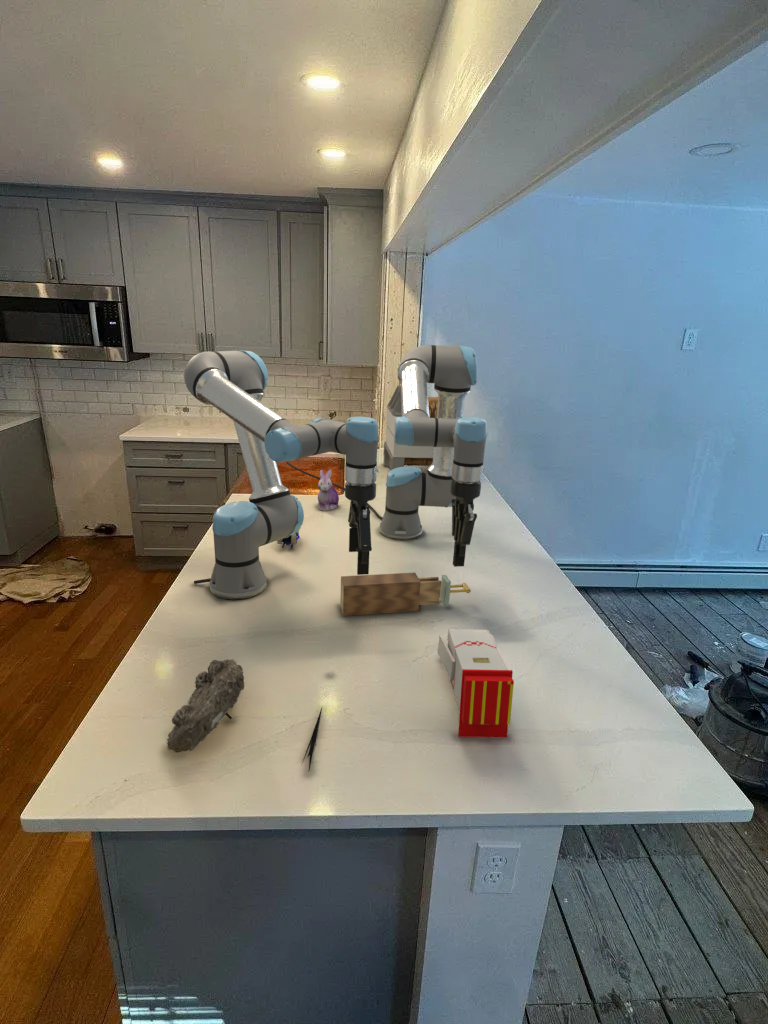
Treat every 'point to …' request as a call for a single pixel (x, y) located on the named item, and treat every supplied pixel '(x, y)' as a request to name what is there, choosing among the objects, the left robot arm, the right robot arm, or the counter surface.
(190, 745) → the fossil
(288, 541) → the figurine character
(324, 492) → the figurine
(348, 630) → the counter surface
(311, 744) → the feather
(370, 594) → the cabinet
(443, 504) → the right robot arm
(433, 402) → the transformer
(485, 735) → the toy
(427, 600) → the drawer
